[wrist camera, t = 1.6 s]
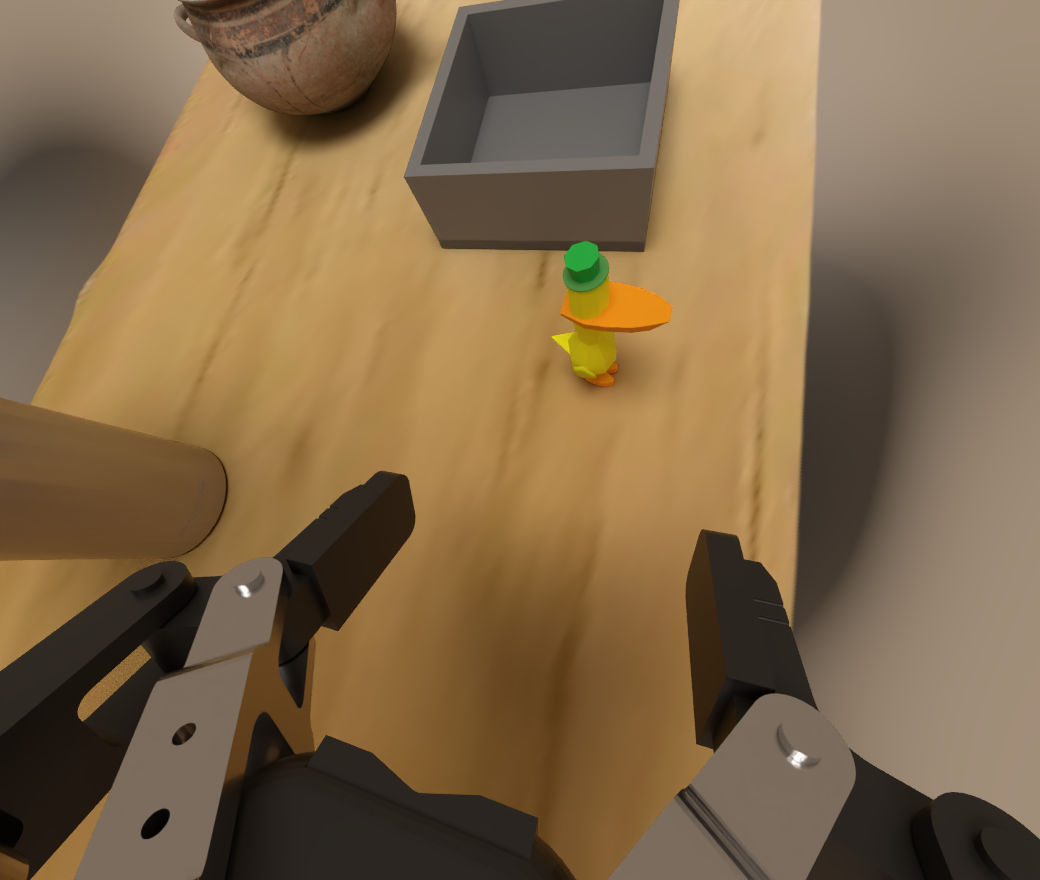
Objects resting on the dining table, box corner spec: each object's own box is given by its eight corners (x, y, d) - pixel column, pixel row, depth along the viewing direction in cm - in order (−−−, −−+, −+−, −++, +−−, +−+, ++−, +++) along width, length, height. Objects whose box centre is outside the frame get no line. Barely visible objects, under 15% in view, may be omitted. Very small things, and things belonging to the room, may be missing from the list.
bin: (442, 248, 34) (403, 176, 28) (484, 100, 38) (459, 7, 32) (644, 251, 30) (654, 167, 24) (668, 85, 34) (683, -28, 27)
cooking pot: (460, 6, 43) (406, -193, 32) (436, 139, 38) (363, -38, 27) (270, 50, 49) (166, -104, 37) (229, 171, 44) (94, 37, 32)
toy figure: (657, 360, 28) (692, 229, 16) (646, 407, 27) (675, 304, 16) (565, 345, 29) (538, 218, 18) (552, 388, 29) (517, 284, 17)
